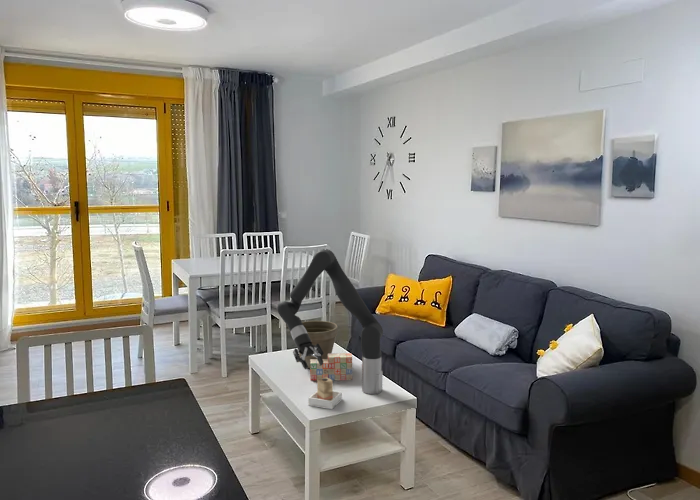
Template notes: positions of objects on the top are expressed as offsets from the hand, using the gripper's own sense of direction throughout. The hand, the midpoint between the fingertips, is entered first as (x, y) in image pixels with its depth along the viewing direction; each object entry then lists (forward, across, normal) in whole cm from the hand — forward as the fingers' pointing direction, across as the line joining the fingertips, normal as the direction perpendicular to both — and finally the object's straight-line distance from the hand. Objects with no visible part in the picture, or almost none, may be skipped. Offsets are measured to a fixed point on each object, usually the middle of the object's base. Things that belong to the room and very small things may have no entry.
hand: (314, 366), depth 258 cm
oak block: (+16, 0, +4) cm, 16 cm away
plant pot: (-15, +25, +36) cm, 46 cm away
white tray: (+16, 0, +4) cm, 17 cm away
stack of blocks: (+1, +20, +21) cm, 29 cm away
